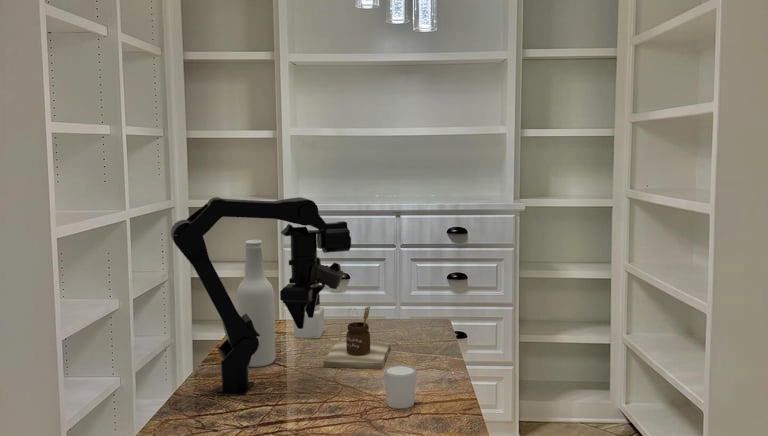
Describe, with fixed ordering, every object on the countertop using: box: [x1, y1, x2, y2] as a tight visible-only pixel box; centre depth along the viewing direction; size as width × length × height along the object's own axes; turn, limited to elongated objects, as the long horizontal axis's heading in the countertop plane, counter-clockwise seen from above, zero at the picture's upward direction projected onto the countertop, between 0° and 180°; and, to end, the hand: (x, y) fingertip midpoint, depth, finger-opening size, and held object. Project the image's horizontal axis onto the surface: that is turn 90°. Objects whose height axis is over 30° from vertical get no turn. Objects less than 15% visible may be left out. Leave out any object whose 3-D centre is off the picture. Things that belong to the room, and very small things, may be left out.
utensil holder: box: [345, 306, 371, 355], centre depth 165 cm, size 6×6×12 cm
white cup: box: [383, 364, 418, 410], centre depth 137 cm, size 7×7×7 cm
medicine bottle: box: [293, 293, 325, 339], centre depth 186 cm, size 7×7×12 cm
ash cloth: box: [323, 340, 391, 370], centre depth 167 cm, size 16×14×2 cm
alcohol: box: [236, 239, 277, 368], centre depth 162 cm, size 9×9×30 cm
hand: (305, 322), depth 151 cm, fingers open, 9 cm apart
